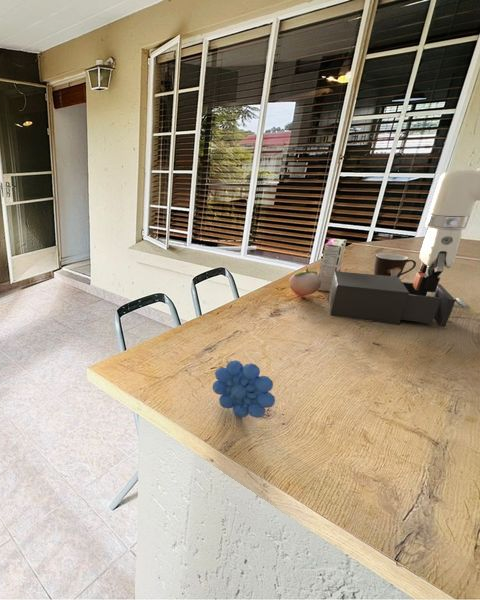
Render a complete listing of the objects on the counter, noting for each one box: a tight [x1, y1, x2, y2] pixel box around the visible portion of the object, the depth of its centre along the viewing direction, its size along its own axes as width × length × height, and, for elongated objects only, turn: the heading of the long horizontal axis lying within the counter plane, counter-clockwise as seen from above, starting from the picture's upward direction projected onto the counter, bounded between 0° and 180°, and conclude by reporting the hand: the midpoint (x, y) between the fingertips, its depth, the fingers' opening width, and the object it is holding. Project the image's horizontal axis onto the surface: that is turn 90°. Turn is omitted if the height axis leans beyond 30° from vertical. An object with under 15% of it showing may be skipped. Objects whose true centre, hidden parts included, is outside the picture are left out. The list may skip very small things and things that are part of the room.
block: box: [412, 271, 441, 292], centre depth 95 cm, size 4×4×4 cm
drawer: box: [400, 281, 471, 328], centre depth 98 cm, size 19×13×8 cm
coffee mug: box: [373, 253, 417, 278], centre depth 122 cm, size 12×9×10 cm
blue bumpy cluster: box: [212, 359, 276, 419], centre depth 64 cm, size 12×7×12 cm, turn 35°
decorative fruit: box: [288, 268, 321, 298], centre depth 116 cm, size 9×8×10 cm
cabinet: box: [328, 271, 409, 326], centre depth 104 cm, size 16×15×10 cm
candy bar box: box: [317, 238, 348, 293], centre depth 122 cm, size 11×5×16 cm, turn 137°
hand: (424, 287), depth 96 cm, fingers closed on block, 4 cm apart
